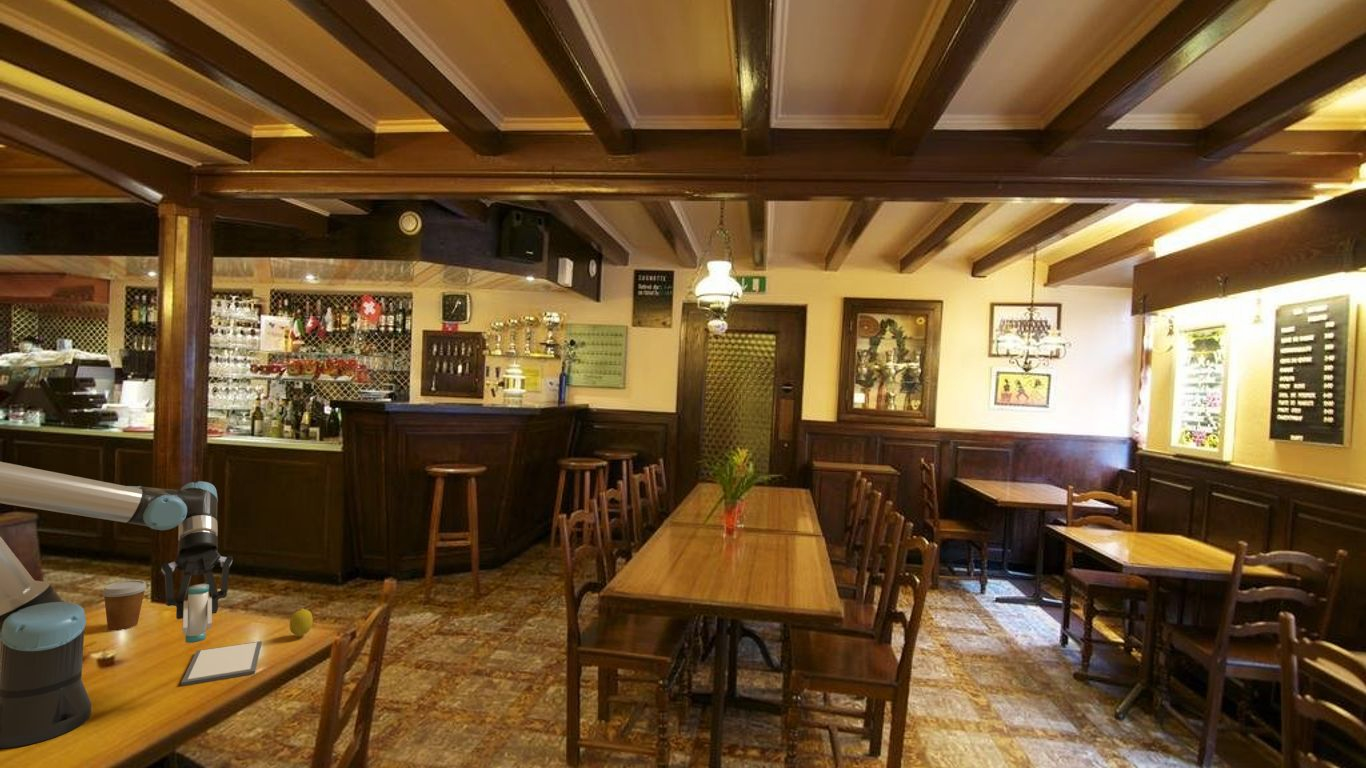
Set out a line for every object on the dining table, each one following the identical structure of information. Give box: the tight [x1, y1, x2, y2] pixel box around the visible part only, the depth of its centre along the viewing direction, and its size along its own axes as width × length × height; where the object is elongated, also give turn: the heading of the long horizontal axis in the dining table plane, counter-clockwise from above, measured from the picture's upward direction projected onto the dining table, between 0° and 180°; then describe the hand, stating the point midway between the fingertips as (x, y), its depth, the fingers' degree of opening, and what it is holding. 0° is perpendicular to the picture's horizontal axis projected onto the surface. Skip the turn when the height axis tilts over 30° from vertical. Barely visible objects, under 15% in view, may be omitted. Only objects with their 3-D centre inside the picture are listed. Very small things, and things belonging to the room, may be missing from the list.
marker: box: [184, 583, 209, 644], centre depth 137 cm, size 4×4×12 cm
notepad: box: [180, 640, 263, 687], centre depth 152 cm, size 14×20×1 cm
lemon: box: [289, 607, 314, 638], centre depth 170 cm, size 6×6×8 cm
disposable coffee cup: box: [101, 579, 148, 631], centre depth 173 cm, size 10×10×12 cm
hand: (197, 628), depth 134 cm, fingers closed on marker, 3 cm apart
